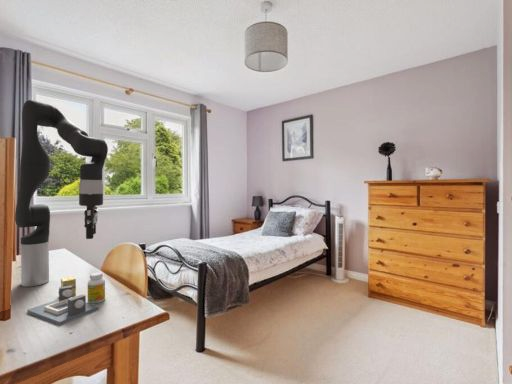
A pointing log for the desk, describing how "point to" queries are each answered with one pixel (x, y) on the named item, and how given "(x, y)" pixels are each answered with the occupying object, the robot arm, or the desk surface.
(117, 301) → the desk surface
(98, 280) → the supplement bottle
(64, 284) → the tan rectangular block
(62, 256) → the desk surface
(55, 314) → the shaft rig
